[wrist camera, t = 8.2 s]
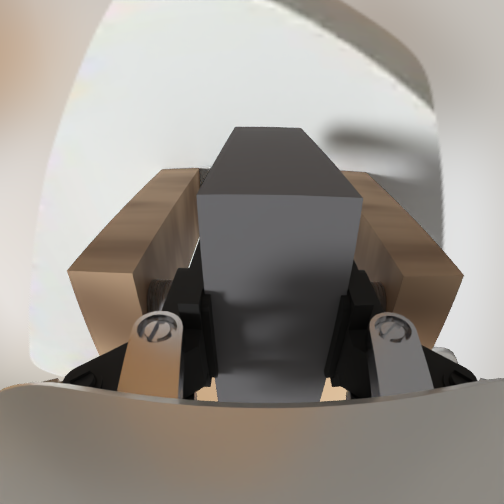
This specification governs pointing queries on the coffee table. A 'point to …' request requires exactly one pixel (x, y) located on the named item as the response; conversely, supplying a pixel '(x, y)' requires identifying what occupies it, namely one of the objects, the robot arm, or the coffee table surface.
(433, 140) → the coffee table surface
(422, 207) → the coffee table surface
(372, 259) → the hook stand
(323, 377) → the grey channel bracket
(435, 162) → the coffee table surface
